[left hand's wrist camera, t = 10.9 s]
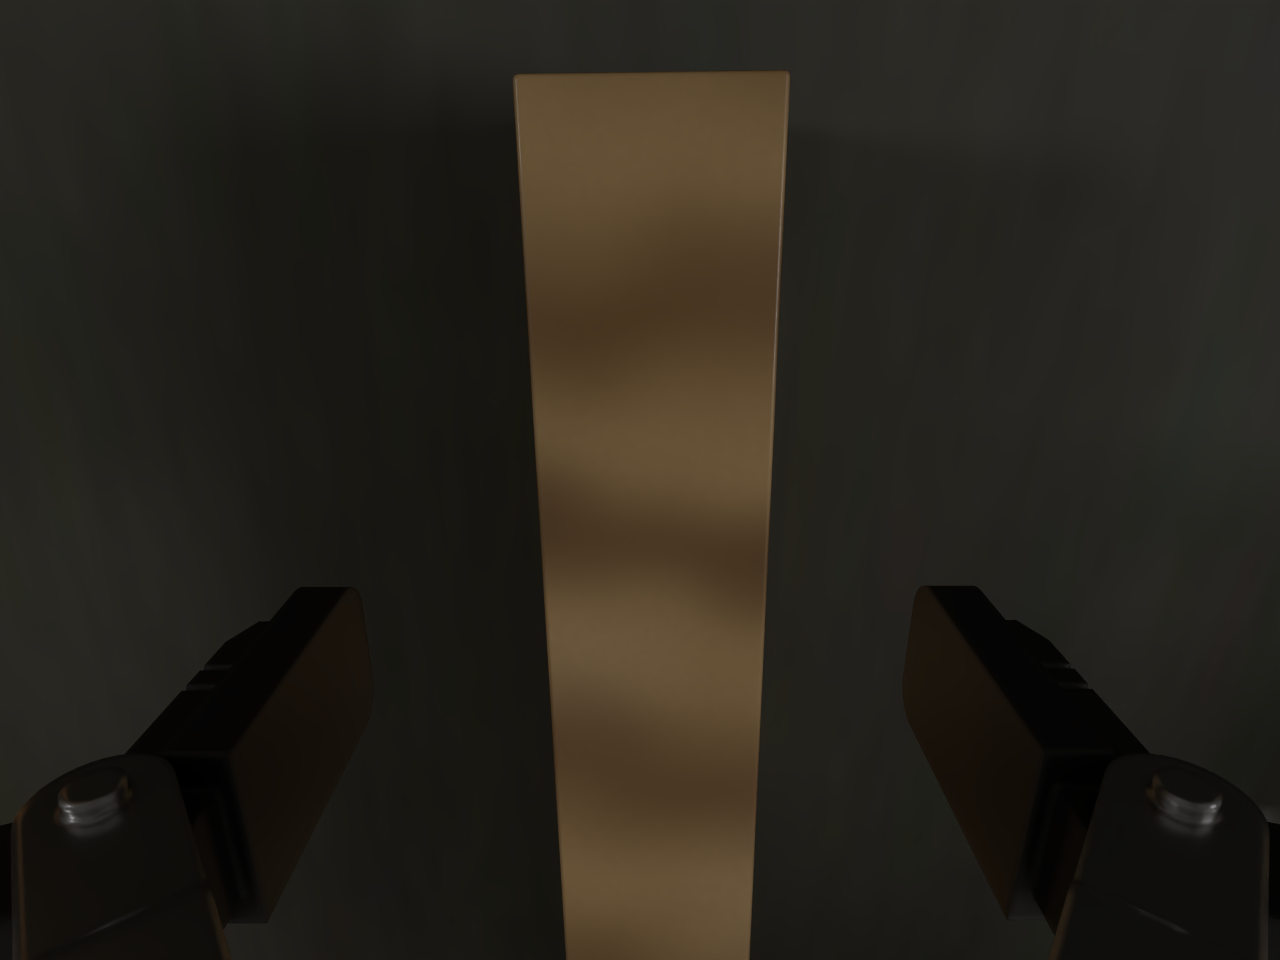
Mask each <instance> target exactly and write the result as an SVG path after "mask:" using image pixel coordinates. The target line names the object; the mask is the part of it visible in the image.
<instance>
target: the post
mask: <svg viewBox="0 0 1280 960" xmlns="http://www.w3.org/2000/svg"><path fill="white" fill-rule="evenodd" d="M789 88H790V75H789V72H788V71H786V70H746V71H672V72H598V73H525V74H516V75H514V78H513V92H514V108H515V125H516V141H517V158H518V174H519V191H520V207H521V224H522V240H523V257H524V273H525V290H526V306H527V323H528V339H529V356H530V372H531V389H532V405H533V422H534V438H535V455H536V471H537V488H538V504H539V521H540V537H541V554H542V570H543V587H544V603H545V620H546V636H547V653H548V669H549V686H550V702H551V719H552V735H553V752H554V768H555V785H556V801H557V818H558V834H559V851H560V867H561V884H562V900H563V917H564V933H565V950H566V960H749V956H750V935H751V913H752V891H753V870H754V848H755V826H756V805H757V783H758V761H759V739H760V718H761V696H762V674H763V653H764V631H765V609H766V587H767V566H768V544H769V522H770V501H771V479H772V457H773V435H774V414H775V392H776V370H777V349H778V327H779V305H780V283H781V262H782V240H783V218H784V197H785V175H786V153H787V132H788V110H789Z"/></svg>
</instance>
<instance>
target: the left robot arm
mask: <svg viewBox="0 0 1280 960" xmlns="http://www.w3.org/2000/svg"><path fill="white" fill-rule="evenodd" d="M186 687H187V688H186V691H181V692H180V693H179V694H178V696H177V697H176V698H175V699H174V700H173V701H172V702H171V703H170V704H169V706H168V707H167V708H166V709H165V710H164V711H163V712H162V713H161V714H160V716H159V717H158V718H157V719H156V720H155V721H154V722H153V723H152V724H151V726H150V727H149V728H148V729H147V730H146V731H145V732H144V733H143V734H142V736H141V737H140V738H139V739H138V740H137V741H136V742H135V743H134V744H133V746H132V747H131V748H130V749H129V750H128V751H127V752H126V753H125V754H124V755H116V756H112V757H107V758H103V759H100V760H97V761H94V762H91V763H88V764H85V765H83V766H80V767H78V768H76V769H74V770H72V771H70V772H67V773H65V774H63V775H62V776H60V777H58V778H57V779H55V780H53V781H52V782H50V783H49V784H47V785H46V786H44V787H43V788H42V789H40V790H39V791H38V792H37V793H35V794H34V795H33V796H32V797H31V798H30V799H29V800H28V801H27V802H26V803H25V804H24V805H23V806H22V807H21V809H20V810H19V812H18V813H17V815H16V816H15V818H14V821H13V823H9V824H5V825H1V826H0V960H232V958H231V955H230V951H229V948H228V945H227V941H226V938H225V934H224V931H223V930H224V928H225V926H226V925H227V923H267V922H268V920H269V918H270V916H271V914H272V912H273V910H274V908H275V906H276V904H277V902H278V900H279V898H280V896H281V894H282V892H283V890H284V888H285V886H286V884H287V882H288V880H289V878H290V876H291V874H292V872H293V870H294V868H295V866H296V864H297V862H298V860H299V858H300V856H301V854H302V852H303V850H304V848H305V846H306V844H307V842H308V840H309V838H310V836H311V834H312V832H313V831H314V829H315V827H316V825H317V823H318V821H319V819H320V817H321V815H322V813H323V811H324V809H325V807H326V805H327V803H328V801H329V799H330V797H331V795H332V793H333V791H334V789H335V787H336V785H337V783H338V781H339V779H340V777H341V775H342V773H343V771H344V769H345V767H346V765H347V763H348V761H349V759H350V757H351V755H352V753H353V751H354V749H355V747H356V745H357V743H358V741H359V739H360V737H361V735H362V733H363V731H364V729H365V727H366V725H367V723H368V720H369V717H370V713H371V708H372V701H373V676H372V669H371V662H370V655H369V648H368V641H367V634H366V627H365V621H364V614H363V607H362V601H361V597H360V595H359V592H358V591H357V589H355V588H354V587H300V588H298V589H297V590H296V591H295V592H294V593H293V594H292V595H291V597H290V598H289V599H288V600H287V601H286V602H285V604H284V605H283V606H282V607H281V608H280V610H279V611H278V612H277V613H276V614H275V615H274V617H273V618H272V619H271V620H270V621H269V622H258V623H256V624H254V625H253V626H251V627H249V628H248V629H246V630H244V631H243V632H241V633H240V634H238V635H236V636H235V637H233V638H231V639H230V640H228V641H227V642H225V643H224V645H223V646H222V647H221V648H220V649H219V650H218V651H217V652H216V653H215V655H214V656H213V657H212V658H211V659H210V660H209V661H208V662H207V663H206V665H205V666H204V671H199V672H198V673H197V674H196V676H195V677H194V678H193V679H192V680H191V681H190V682H189V683H188V684H187V686H186ZM903 700H904V707H905V712H906V715H907V719H908V721H909V724H910V726H911V728H912V730H913V732H914V734H915V736H916V738H917V740H918V742H919V744H920V746H921V748H922V750H923V752H924V754H925V756H926V758H927V760H928V762H929V764H930V766H931V768H932V770H933V772H934V774H935V776H936V778H937V780H938V782H939V784H940V786H941V788H942V790H943V792H944V794H945V796H946V798H947V800H948V802H949V804H950V806H951V808H952V810H953V812H954V814H955V816H956V818H957V820H958V822H959V824H960V826H961V828H962V830H963V832H964V834H965V836H966V838H967V840H968V843H969V845H970V847H971V849H972V851H973V853H974V855H975V857H976V859H977V861H978V863H979V865H980V867H981V869H982V871H983V873H984V875H985V877H986V879H987V881H988V883H989V885H990V887H991V889H992V891H993V893H994V895H995V897H996V899H997V901H998V903H999V905H1000V907H1001V909H1002V911H1003V913H1004V915H1005V917H1006V919H1007V920H1046V921H1047V922H1048V924H1049V926H1050V928H1051V930H1052V932H1053V933H1054V935H1055V938H1054V941H1053V945H1052V948H1051V951H1050V955H1049V958H1048V960H1280V824H1275V823H1271V822H1267V821H1266V818H1265V816H1264V815H1263V813H1262V812H1261V810H1260V809H1259V807H1258V806H1257V805H1256V804H1255V803H1254V802H1253V801H1252V800H1251V799H1250V798H1249V797H1248V796H1247V795H1246V794H1245V793H1243V792H1242V791H1241V790H1240V789H1238V788H1237V787H1236V786H1234V785H1233V784H1231V783H1230V782H1228V781H1227V780H1225V779H1223V778H1222V777H1220V776H1218V775H1217V774H1215V773H1213V772H1210V771H1208V770H1206V769H1204V768H1202V767H1200V766H1197V765H1195V764H1192V763H1189V762H1186V761H1183V760H1180V759H1177V758H1173V757H1168V756H1164V755H1156V754H1150V753H1149V752H1148V751H1147V750H1146V748H1145V747H1144V746H1143V745H1142V744H1141V743H1140V742H1139V741H1138V739H1137V738H1136V737H1135V736H1134V735H1133V734H1132V733H1131V732H1130V730H1129V729H1128V728H1127V727H1126V726H1125V725H1124V724H1123V723H1122V722H1121V720H1120V719H1119V718H1118V717H1117V716H1116V715H1115V714H1114V713H1113V711H1112V710H1111V709H1110V708H1109V707H1108V706H1107V705H1106V704H1105V702H1104V701H1103V700H1102V699H1101V698H1100V697H1099V696H1098V695H1097V694H1096V692H1095V691H1094V690H1093V689H1088V683H1087V682H1086V681H1085V680H1084V679H1083V678H1082V677H1081V676H1080V674H1079V673H1078V672H1077V671H1076V670H1075V669H1071V668H1070V663H1069V662H1068V661H1067V660H1066V659H1065V658H1064V657H1063V655H1062V654H1061V653H1060V652H1059V651H1058V650H1057V649H1056V648H1055V646H1054V645H1053V644H1052V643H1051V642H1050V641H1049V640H1048V639H1046V638H1044V637H1043V636H1041V635H1039V634H1038V633H1036V632H1035V631H1033V630H1031V629H1030V628H1028V627H1026V626H1025V625H1023V624H1022V623H1020V622H1018V621H1017V620H1005V619H1004V618H1003V616H1002V615H1001V614H1000V613H999V612H998V610H997V609H996V608H995V607H994V606H993V604H992V603H991V602H990V601H989V600H988V598H987V597H986V596H985V595H984V594H983V592H982V591H981V590H980V589H979V588H978V587H976V586H921V587H920V588H919V589H918V591H917V593H916V595H915V599H914V604H913V611H912V618H911V625H910V632H909V639H908V646H907V654H906V661H905V668H904V675H903Z"/></svg>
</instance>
